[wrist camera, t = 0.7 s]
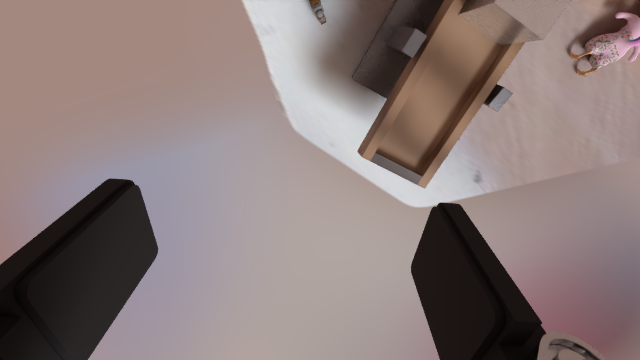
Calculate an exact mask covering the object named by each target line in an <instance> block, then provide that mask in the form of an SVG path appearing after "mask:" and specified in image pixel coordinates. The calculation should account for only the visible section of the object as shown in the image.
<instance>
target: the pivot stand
mask: <svg viewBox="0 0 640 360" xmlns="http://www.w3.org/2000/svg"><path fill="white" fill-rule="evenodd" d="M443 2H444V0H396V1H395V2H394V4H393V6H392V8H391V10H390V11H389V13H388V15H387V17H386V18H385V20H384V22H383V24H382V25H381V27H380V29H379V31H378V33H377V34H376V36H375V38H374V40H373V41H372V43H371V45H370V47H369V48H368V50H367V52H366V54H365V55H364V57H363V59H362V61H361V63H360V64H359V66H358V68H357V70H356V71H355V73H354V75H353V77H352V78H353V80H355V81H357V82H359V83H360V84H362V85H364V86H366V87H367V88H369V89H371V90H373V91H374V92H376V93H378V94H380V95H381V96H383V97H385V98H386V99H388V97H389V95H390V94H391V92H392V90H393V88H394V87H395V85H396V83H397V81H398V80H399V78H400V76H401V74H402V73H403V71H404V69H405V68H406V66H407V64H408V62H409V61H410V59H411V57H412V58H413V57H414V55H415V54H416V52H417V51H418V49H419V48H420V46H421V45H422V43H423V41H424V40H425V38H426V37H427V36H426V35H425V33H426V31H427V29H428V28H429V26H430V24H431V22H432V21H433V19H434V17H435V15H436V14H437V12H438V10H439V9H440V7H441V5H442V3H443ZM512 94H513V93H512V92H510V91H509V90H507V89H506V88H504V87H502V86H500V85H497V84H496V85H495V87H494V88H493V90H492V91H491V93H490V94H489V95H488V97H487V98H486V100H485V101H484V103H483V104H485V105H486V106H488V107H490V108H492V109H494V110H495V111H498V110H499V109H500V108H501V107H502V106H503V105H504V103H505V102H506V101H507V100H508V99H509V98H510V97H511V95H512Z"/></svg>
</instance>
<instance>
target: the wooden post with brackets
mask: <svg viewBox="0 0 640 360" xmlns="http://www.w3.org/2000/svg"><path fill="white" fill-rule="evenodd" d="M309 1H310V3H311V6H312V8H313V12H314V14H315V16H316V15H317V17H318V20H319V22H320V23H321V25H322V24H323V23H325V22H326V18H325V16H324V13H323V12H324V10H323V7H322V5H321V1H320V0H309Z"/></svg>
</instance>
